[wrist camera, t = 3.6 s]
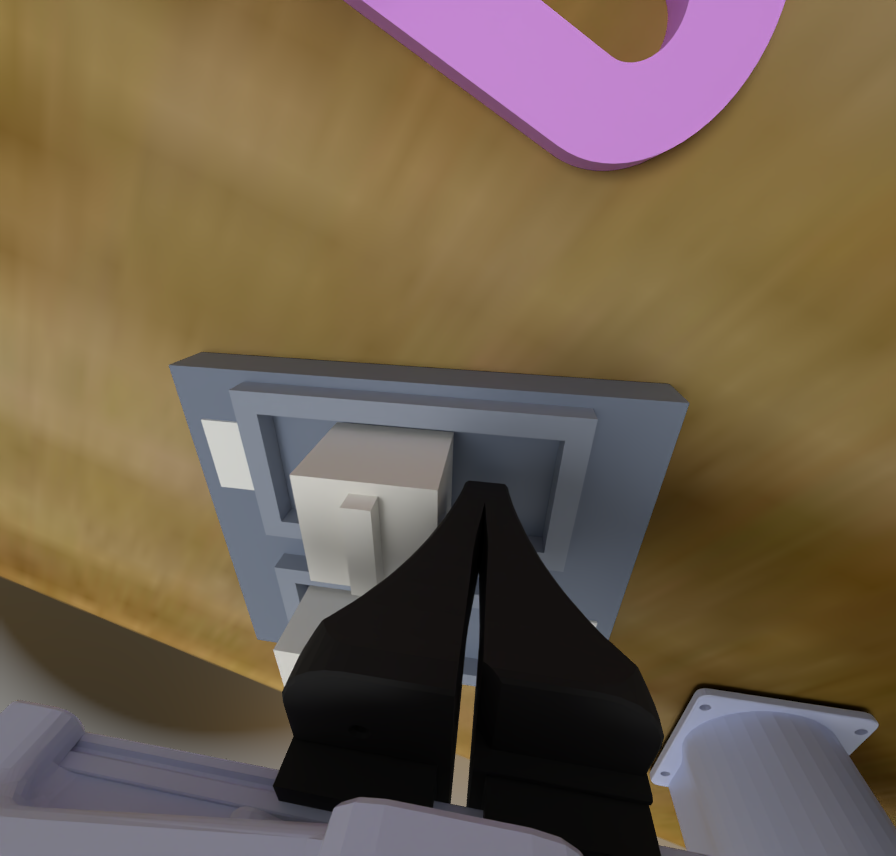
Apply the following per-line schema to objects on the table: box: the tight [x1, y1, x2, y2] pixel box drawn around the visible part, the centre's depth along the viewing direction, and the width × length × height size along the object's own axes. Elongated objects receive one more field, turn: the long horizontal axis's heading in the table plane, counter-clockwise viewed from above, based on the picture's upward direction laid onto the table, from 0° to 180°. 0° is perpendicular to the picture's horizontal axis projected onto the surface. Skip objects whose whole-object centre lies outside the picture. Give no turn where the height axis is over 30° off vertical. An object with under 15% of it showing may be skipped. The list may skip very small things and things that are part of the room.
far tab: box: [274, 585, 361, 687], centre depth 16 cm, size 4×4×4 cm
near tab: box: [289, 422, 454, 596], centre depth 12 cm, size 4×4×4 cm
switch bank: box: [169, 352, 689, 686], centre depth 16 cm, size 15×17×2 cm
